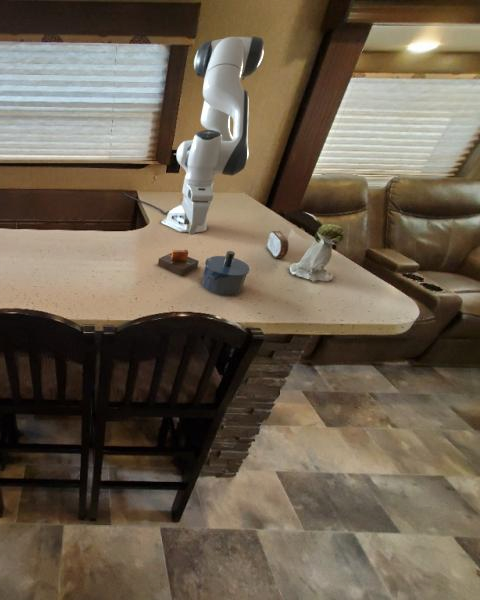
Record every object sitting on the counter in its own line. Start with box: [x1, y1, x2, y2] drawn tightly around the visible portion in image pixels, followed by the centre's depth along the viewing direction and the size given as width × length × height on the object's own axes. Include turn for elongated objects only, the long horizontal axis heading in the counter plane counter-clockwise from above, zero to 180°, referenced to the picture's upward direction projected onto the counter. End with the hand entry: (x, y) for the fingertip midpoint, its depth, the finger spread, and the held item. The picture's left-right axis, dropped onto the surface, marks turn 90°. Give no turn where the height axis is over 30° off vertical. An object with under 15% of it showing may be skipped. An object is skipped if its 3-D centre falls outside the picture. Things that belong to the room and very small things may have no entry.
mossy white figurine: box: [289, 223, 345, 283], centre depth 102 cm, size 12×13×18 cm
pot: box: [201, 266, 248, 296], centre depth 99 cm, size 13×18×8 cm
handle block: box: [157, 252, 200, 277], centre depth 112 cm, size 11×10×3 cm
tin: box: [266, 230, 289, 259], centre depth 119 cm, size 15×3×8 cm, turn 168°
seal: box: [171, 249, 189, 261], centre depth 110 cm, size 6×2×4 cm, turn 84°
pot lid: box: [204, 250, 251, 277], centre depth 96 cm, size 14×14×6 cm
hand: (188, 228), depth 103 cm, fingers open, 8 cm apart
